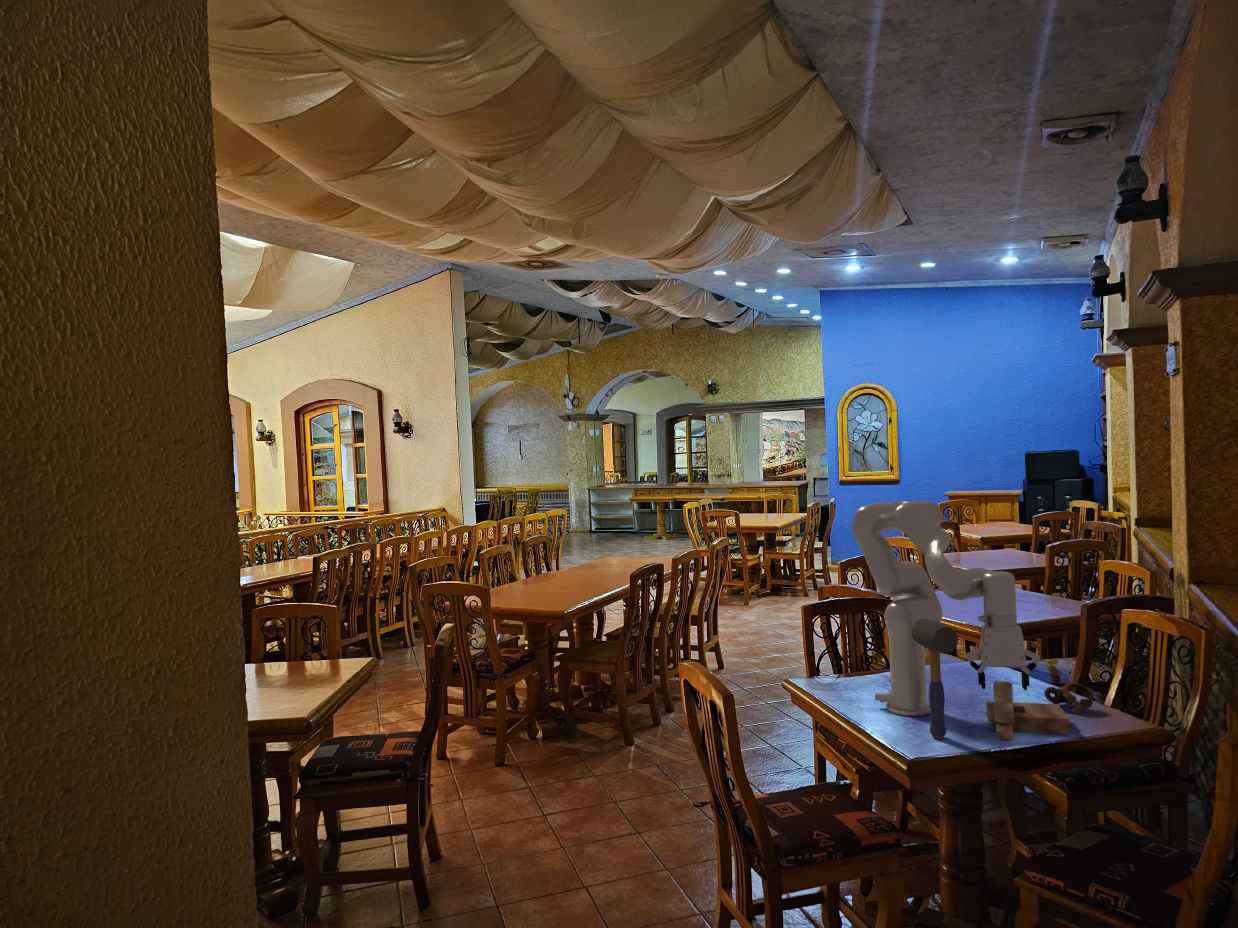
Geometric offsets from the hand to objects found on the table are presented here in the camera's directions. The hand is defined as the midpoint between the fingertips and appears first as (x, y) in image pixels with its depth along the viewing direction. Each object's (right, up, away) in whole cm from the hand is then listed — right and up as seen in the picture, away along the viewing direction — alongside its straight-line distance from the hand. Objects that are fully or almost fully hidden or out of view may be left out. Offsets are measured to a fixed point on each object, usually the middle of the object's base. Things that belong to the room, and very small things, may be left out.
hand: (1003, 688), depth 212 cm
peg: (0, -13, 0) cm, 13 cm away
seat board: (+11, -12, +10) cm, 19 cm away
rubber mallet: (-15, -14, +3) cm, 21 cm away
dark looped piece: (+28, -12, +22) cm, 37 cm away
